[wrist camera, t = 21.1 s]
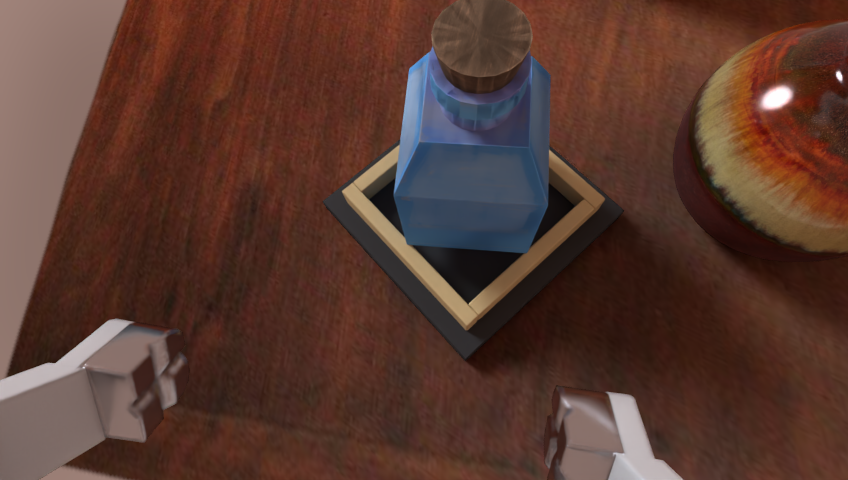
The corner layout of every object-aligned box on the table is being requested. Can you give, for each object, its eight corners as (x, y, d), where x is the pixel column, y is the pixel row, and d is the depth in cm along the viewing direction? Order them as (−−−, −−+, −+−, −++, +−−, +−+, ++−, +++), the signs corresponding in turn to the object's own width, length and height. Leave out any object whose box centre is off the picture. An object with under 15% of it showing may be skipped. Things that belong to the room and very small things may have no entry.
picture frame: (465, 361, 27) (466, 355, 24) (326, 208, 30) (315, 190, 28) (619, 217, 29) (633, 199, 27) (473, 89, 32) (475, 63, 30)
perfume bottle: (527, 253, 26) (582, 125, 15) (406, 244, 27) (371, 114, 15) (530, 146, 28) (581, -39, 17) (418, 140, 29) (395, -43, 17)
